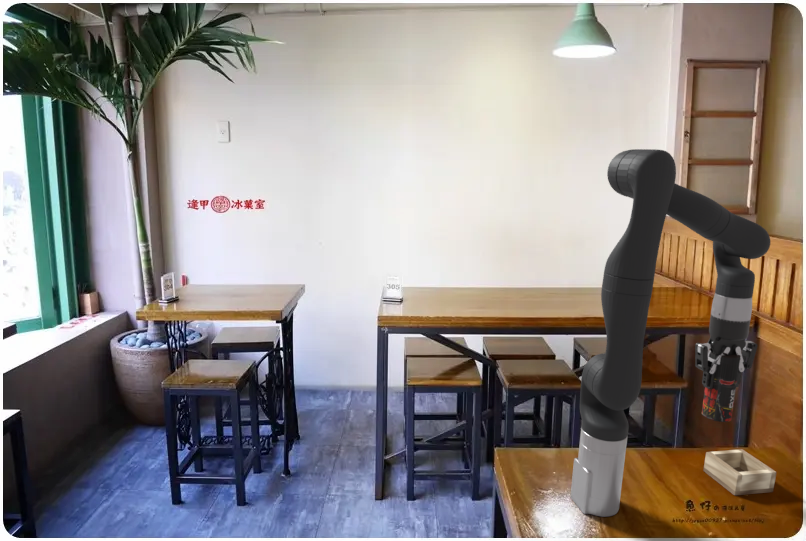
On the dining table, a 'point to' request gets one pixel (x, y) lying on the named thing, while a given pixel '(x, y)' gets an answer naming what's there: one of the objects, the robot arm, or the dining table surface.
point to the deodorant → (722, 389)
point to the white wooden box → (739, 472)
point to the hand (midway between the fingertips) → (720, 386)
